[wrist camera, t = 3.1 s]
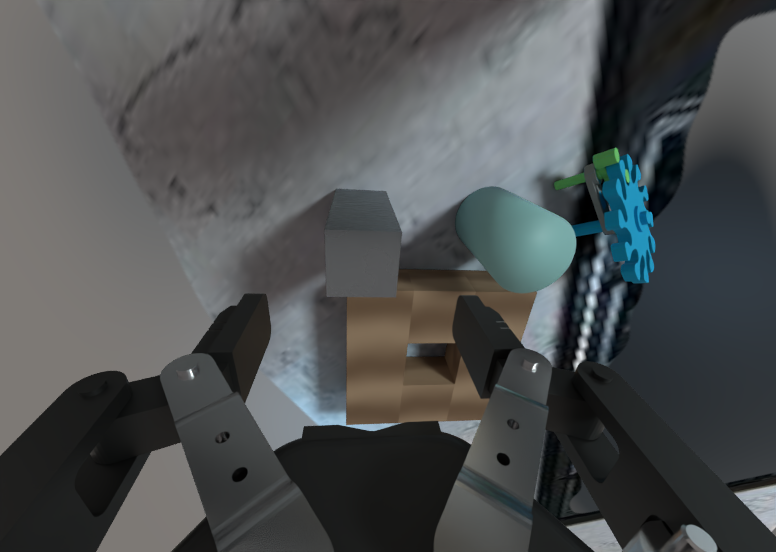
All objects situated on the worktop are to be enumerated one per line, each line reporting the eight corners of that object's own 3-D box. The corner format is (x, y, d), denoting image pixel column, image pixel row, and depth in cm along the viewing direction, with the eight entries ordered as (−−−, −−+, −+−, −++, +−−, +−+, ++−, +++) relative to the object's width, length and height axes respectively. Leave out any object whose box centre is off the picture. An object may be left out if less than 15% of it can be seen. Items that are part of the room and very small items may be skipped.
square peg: (336, 188, 24) (324, 229, 16) (385, 191, 25) (401, 232, 16) (336, 236, 26) (326, 296, 17) (383, 237, 27) (396, 297, 18)
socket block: (348, 268, 28) (346, 290, 24) (515, 271, 29) (537, 292, 26) (347, 393, 35) (346, 424, 31) (481, 390, 37) (494, 419, 33)
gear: (669, 238, 27) (655, 311, 22) (593, 248, 32) (567, 311, 26) (637, 119, 24) (613, 170, 18) (558, 150, 28) (519, 199, 23)
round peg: (461, 184, 25) (502, 211, 18) (525, 188, 26) (589, 214, 19) (450, 248, 28) (482, 292, 21) (509, 249, 28) (559, 293, 21)
